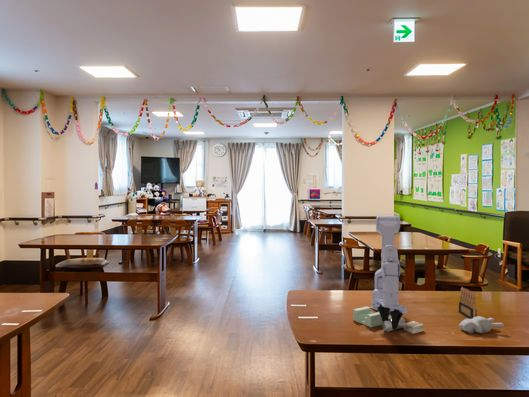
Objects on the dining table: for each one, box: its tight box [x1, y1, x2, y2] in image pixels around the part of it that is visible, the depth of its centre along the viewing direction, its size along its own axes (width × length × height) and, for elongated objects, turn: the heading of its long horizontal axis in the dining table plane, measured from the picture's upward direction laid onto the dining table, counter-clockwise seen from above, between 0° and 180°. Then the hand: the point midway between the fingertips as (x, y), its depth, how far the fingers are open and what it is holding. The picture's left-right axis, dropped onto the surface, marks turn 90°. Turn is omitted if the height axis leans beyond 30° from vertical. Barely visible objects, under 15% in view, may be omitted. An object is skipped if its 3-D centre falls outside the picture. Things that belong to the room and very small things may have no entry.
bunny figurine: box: [458, 315, 505, 334], centre depth 152 cm, size 10×5×15 cm
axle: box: [381, 316, 407, 333], centre depth 153 cm, size 4×9×4 cm, turn 121°
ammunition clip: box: [458, 286, 478, 319], centre depth 168 cm, size 11×2×12 cm, turn 3°
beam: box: [389, 314, 424, 335], centre depth 156 cm, size 14×6×2 cm, turn 31°
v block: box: [352, 306, 383, 328], centre depth 161 cm, size 10×8×4 cm
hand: (390, 326), depth 152 cm, fingers closed on axle, 4 cm apart
